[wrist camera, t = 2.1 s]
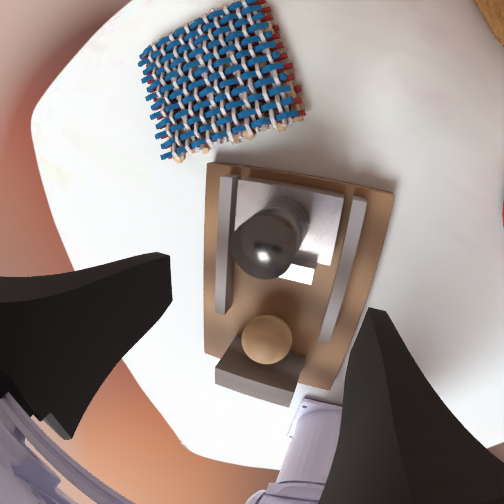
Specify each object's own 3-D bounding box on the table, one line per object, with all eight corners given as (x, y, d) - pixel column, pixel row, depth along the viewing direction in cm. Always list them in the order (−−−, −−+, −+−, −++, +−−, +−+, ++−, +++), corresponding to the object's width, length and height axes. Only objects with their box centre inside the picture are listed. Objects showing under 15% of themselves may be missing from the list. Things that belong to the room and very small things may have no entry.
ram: (328, 269, 18) (315, 323, 12) (241, 249, 19) (199, 290, 14) (344, 193, 15) (340, 220, 10) (247, 176, 17) (200, 194, 12)
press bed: (331, 382, 23) (321, 425, 18) (209, 346, 26) (183, 381, 22) (392, 193, 15) (406, 212, 11) (214, 162, 19) (171, 171, 14)
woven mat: (313, 125, 16) (309, 123, 14) (177, 165, 20) (161, 169, 19) (269, -3, 13) (259, -15, 11) (149, 53, 17) (132, 49, 16)
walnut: (292, 347, 21) (280, 379, 18) (249, 335, 22) (232, 364, 19) (301, 312, 20) (289, 344, 17) (254, 299, 21) (235, 328, 18)
